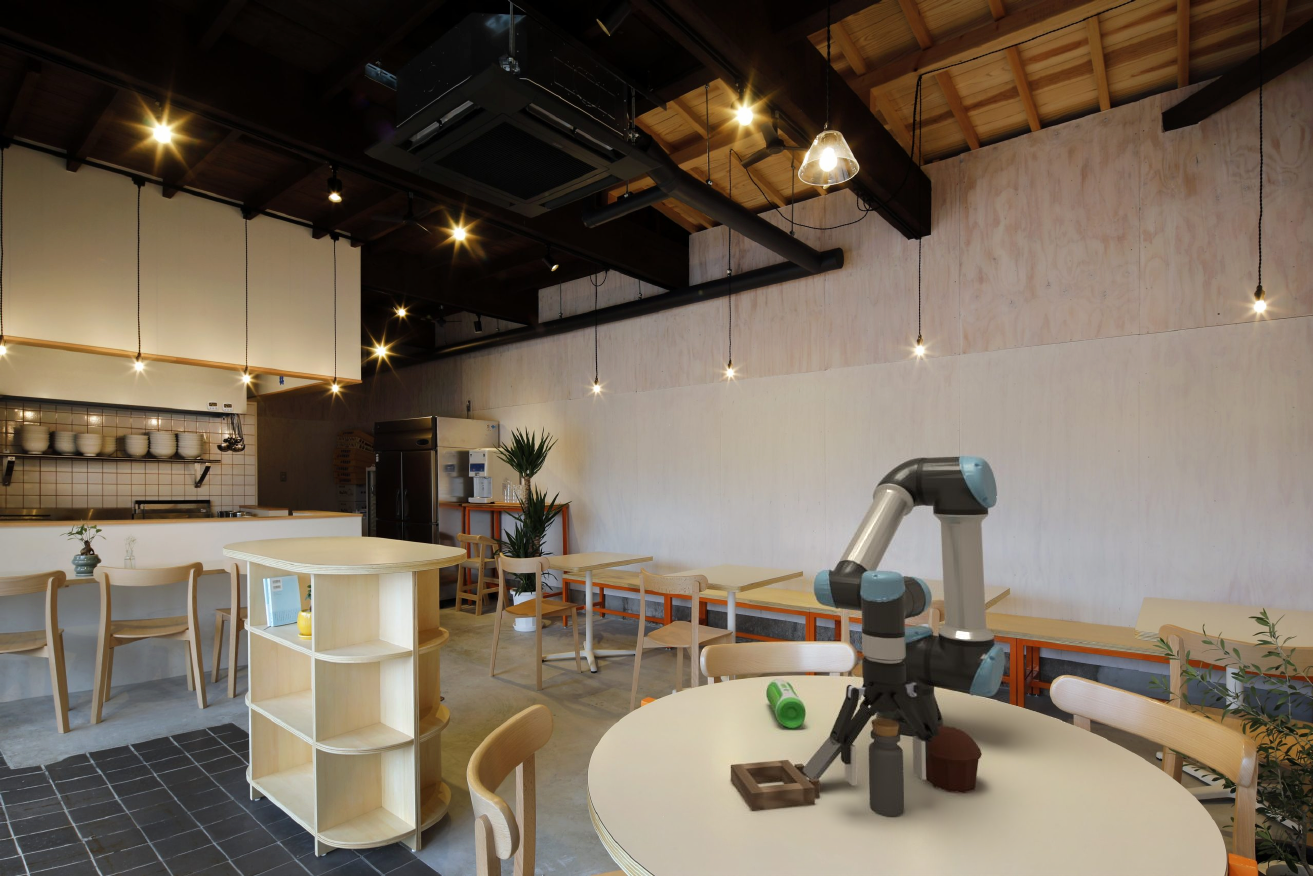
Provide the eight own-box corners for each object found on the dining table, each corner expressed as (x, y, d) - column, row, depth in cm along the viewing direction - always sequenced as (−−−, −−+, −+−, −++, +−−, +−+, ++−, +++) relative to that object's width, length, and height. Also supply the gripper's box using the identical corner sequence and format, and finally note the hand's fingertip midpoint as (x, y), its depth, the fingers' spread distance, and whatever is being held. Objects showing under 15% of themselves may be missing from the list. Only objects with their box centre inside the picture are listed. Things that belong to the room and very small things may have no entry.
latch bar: (845, 723, 128) (841, 719, 128) (858, 732, 123) (854, 728, 123) (801, 777, 125) (797, 773, 125) (812, 788, 120) (808, 785, 120)
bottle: (907, 818, 112) (905, 730, 113) (871, 815, 113) (870, 727, 114) (901, 802, 117) (899, 718, 119) (867, 799, 119) (866, 715, 120)
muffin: (934, 764, 134) (932, 715, 134) (991, 782, 126) (989, 729, 127) (909, 783, 125) (908, 730, 126) (968, 802, 118) (967, 746, 118)
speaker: (807, 731, 152) (807, 698, 153) (777, 731, 152) (776, 698, 153) (792, 706, 170) (792, 676, 170) (765, 705, 170) (764, 676, 170)
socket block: (797, 774, 129) (797, 759, 129) (825, 803, 117) (824, 786, 117) (730, 780, 126) (730, 764, 126) (752, 811, 114) (752, 793, 114)
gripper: (931, 650, 123) (934, 765, 122) (810, 655, 118) (811, 775, 116) (957, 660, 116) (960, 782, 114) (830, 666, 111) (831, 794, 109)
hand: (885, 779), depth 115 cm, fingers open, 13 cm apart
